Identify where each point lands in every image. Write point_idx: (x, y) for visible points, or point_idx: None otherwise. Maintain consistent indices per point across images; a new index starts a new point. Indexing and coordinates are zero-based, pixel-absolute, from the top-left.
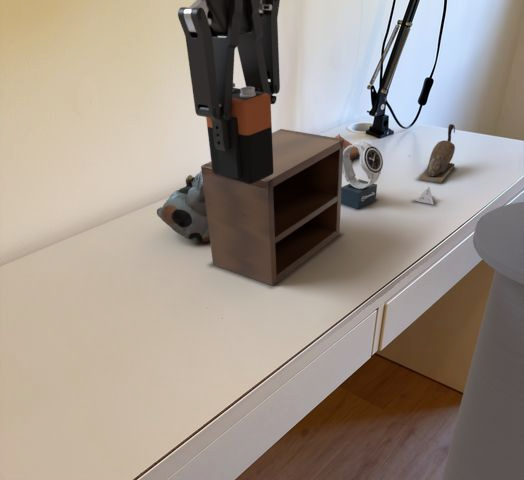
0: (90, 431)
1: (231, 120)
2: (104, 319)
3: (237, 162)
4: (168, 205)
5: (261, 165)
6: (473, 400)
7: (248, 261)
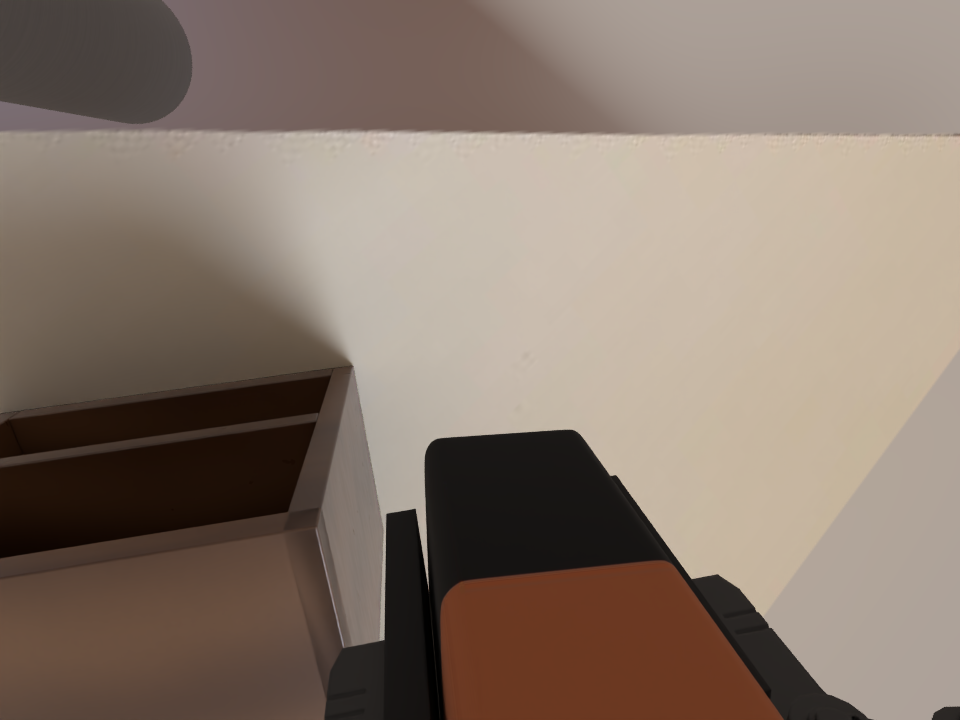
0: (884, 280)
1: (766, 693)
2: (664, 518)
3: (640, 516)
4: None
5: (526, 460)
6: (14, 37)
7: (362, 451)
